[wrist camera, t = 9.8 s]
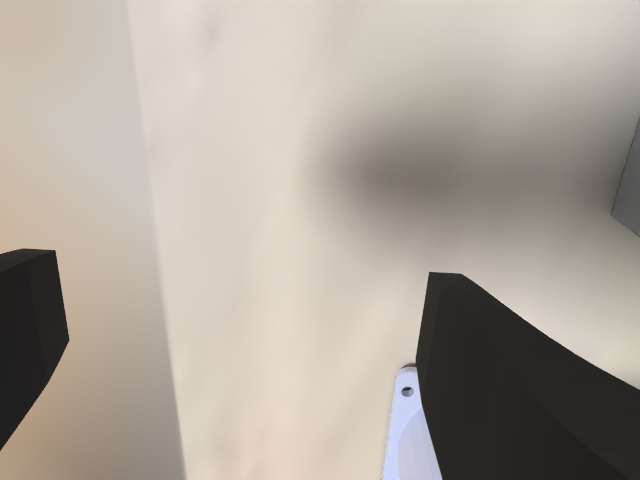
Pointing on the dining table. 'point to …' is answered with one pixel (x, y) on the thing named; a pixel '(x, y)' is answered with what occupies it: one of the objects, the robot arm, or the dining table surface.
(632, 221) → the chassis
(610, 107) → the dining table surface
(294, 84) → the dining table surface
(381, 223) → the dining table surface
